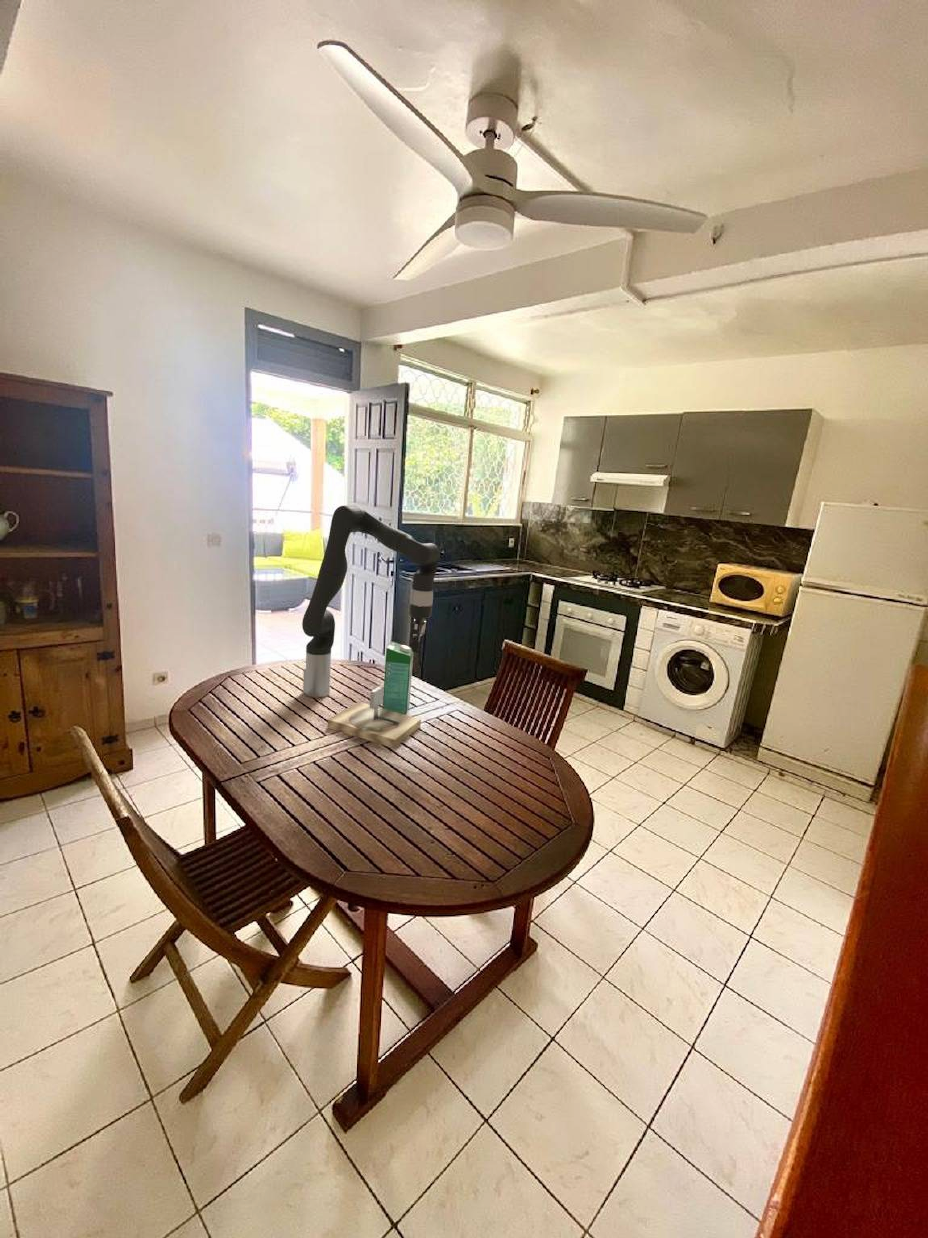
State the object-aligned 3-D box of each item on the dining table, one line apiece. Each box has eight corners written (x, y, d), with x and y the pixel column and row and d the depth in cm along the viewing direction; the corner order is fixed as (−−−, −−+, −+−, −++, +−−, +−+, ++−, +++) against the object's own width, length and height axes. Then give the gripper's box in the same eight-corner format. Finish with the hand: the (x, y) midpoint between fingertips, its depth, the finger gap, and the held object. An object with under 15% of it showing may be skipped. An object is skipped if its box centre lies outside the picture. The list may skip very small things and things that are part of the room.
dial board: (327, 727, 168) (327, 718, 167) (358, 709, 185) (358, 700, 184) (394, 748, 159) (394, 739, 158) (420, 727, 176) (421, 718, 175)
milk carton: (406, 714, 185) (411, 650, 179) (382, 711, 185) (386, 647, 179) (409, 704, 193) (414, 643, 187) (386, 701, 193) (390, 640, 187)
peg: (368, 721, 169) (370, 691, 166) (378, 714, 174) (380, 685, 172) (393, 728, 165) (395, 698, 163) (402, 721, 171) (404, 692, 168)
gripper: (414, 597, 175) (410, 640, 179) (406, 605, 161) (402, 652, 165) (435, 599, 174) (430, 643, 178) (429, 608, 161) (424, 655, 165)
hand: (417, 648), depth 172 cm, fingers open, 8 cm apart
